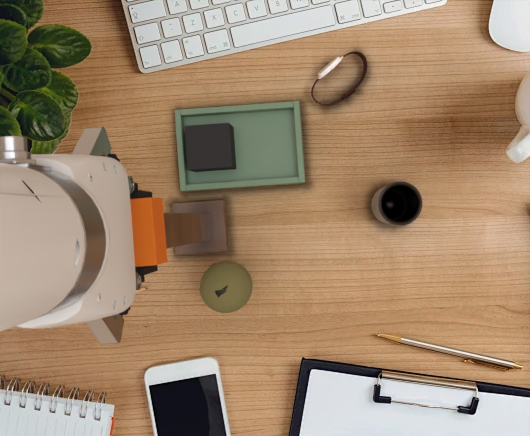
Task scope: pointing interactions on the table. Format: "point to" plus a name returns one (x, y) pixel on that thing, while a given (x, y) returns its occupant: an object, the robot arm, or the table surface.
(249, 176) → the holder
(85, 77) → the table surface
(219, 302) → the green pear
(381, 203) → the planter
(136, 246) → the orange block
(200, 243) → the stand
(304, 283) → the table surface
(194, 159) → the pad
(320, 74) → the watch
